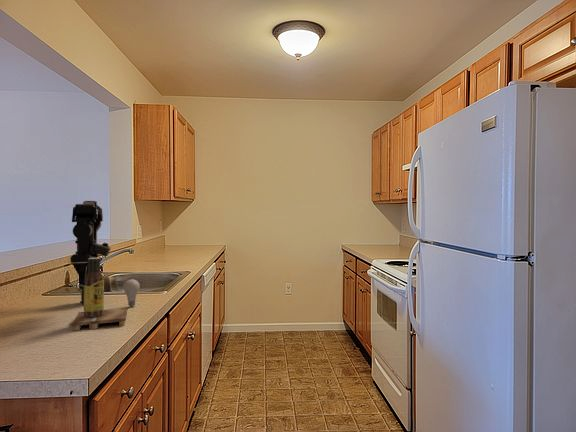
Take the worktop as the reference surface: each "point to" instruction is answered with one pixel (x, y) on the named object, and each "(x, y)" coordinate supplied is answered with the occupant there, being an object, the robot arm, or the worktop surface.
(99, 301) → the sauce bottle
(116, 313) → the wooden pallet
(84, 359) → the worktop surface
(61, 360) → the worktop surface
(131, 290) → the lightbulb
